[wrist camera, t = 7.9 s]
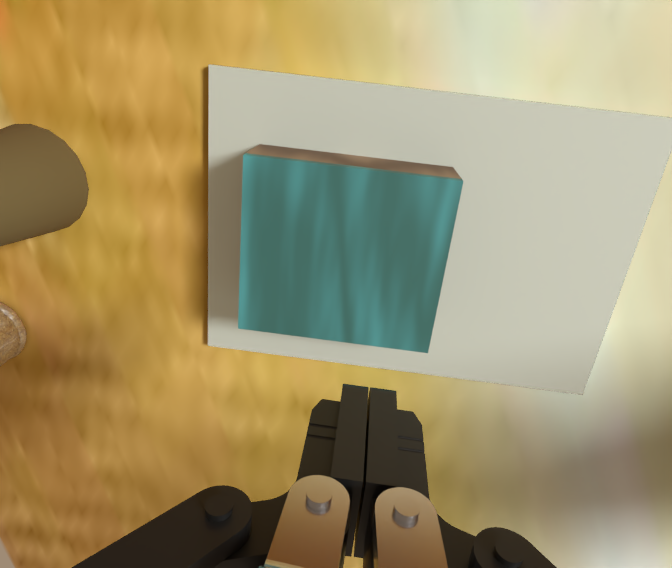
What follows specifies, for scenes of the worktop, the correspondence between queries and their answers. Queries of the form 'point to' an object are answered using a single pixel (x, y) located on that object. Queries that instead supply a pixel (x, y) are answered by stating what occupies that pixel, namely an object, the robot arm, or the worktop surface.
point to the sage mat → (458, 216)
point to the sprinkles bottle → (10, 334)
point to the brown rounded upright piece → (38, 183)
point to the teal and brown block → (344, 246)
